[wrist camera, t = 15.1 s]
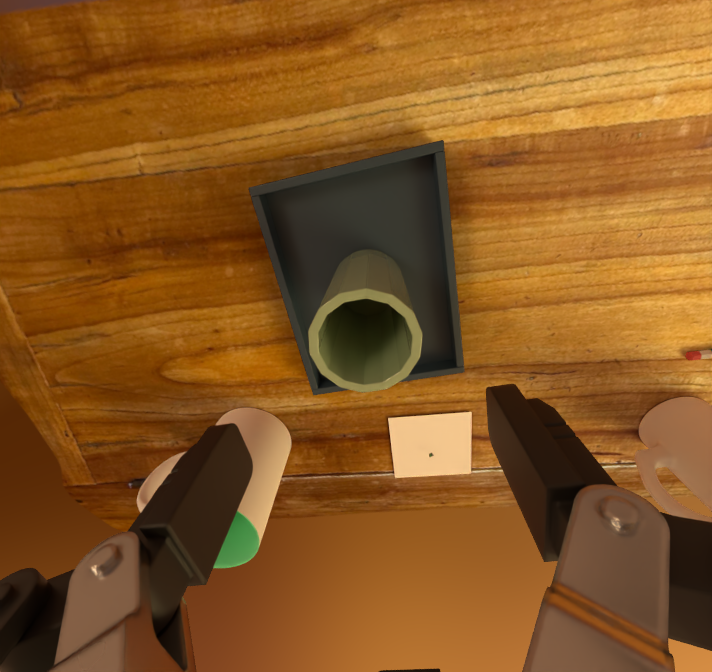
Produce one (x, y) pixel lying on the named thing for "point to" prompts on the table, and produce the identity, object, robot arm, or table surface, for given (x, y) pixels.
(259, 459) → the mug
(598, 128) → the table surface
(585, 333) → the table surface
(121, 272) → the table surface
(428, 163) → the tray
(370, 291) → the cup
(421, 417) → the coaster
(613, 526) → the robot arm
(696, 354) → the pencil
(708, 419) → the mug
